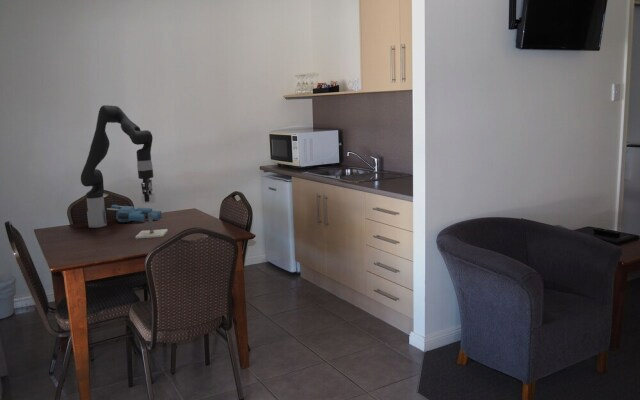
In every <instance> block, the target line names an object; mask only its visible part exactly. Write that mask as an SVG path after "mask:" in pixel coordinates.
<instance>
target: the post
mask: <svg viewBox="0 0 640 400" xmlns="http://www.w3.org/2000/svg"><path fill="white" fill-rule="evenodd" d="M148 219H149V220H148ZM147 220H148V228H149V229H148V230H141V231H140V232H139V233H138V234H137V235H135V239H150V238H162V237H164V236H165V235H166V234H167V233H168V231H169V230H168V228H164V229H154V222H153V221H154V220H152V214H148V218H147Z"/></svg>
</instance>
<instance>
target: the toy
mask: <svg viewBox="0 0 640 400" xmlns="http://www.w3.org/2000/svg"><path fill="white" fill-rule="evenodd" d="M106 210H108V211H114V213H115V217H116V220H117V221H118V223H125V222H127V223H129V222H133V221H134V222H145V221H146V219H147V220H148V221H149V219H148V214H152V220H153V221H158V220H159V219H160V218H161V217H162V211H161V210H153V208H149V207H148V208H145V207H137V208H135V207H134V206H132V205H131V206H130V205H118V204H111V206H110V208H109V207H106Z"/></svg>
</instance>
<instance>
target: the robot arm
mask: <svg viewBox="0 0 640 400" xmlns="http://www.w3.org/2000/svg"><path fill="white" fill-rule="evenodd" d="M108 123H109V124H110V123H111V124H112V123H114V124H115V123H118V124H119V125H120V128H121V130H122V132H123V133H124V134H126V135H127V136H128V137H129V139H130V141H131V143H132V144H134V145H138V146H139V145H140V146H142V147H141V148H139V149H137V150H136V152H135V153H136V161H137V163H136V166H137V167H136V168H137V176H138V179H139V180H142V182H141V184H140V185H141V192H142V194H144V199H145V202H149V194H150V193H152V192H153V181H152V179H153V178H154V169H153V161H152V154H151V152H152V145H153V139H154V138H153V133H152V132H151V131H150V130H141V128H140V127H139V125H137V124H136V123H134V122H133V121H132V120H131V119H130V118H129V117H128V116H127V115H126V114H125V112H124V111H123V109H121V108H120V107H119V106H117V105H108V104H107V105H101V106H100V108H99V110H98V114H97V121H96V126H95V131H94V134H93V138H92V141H91V144H90V149H89V152H88V154H87V155H88V156H87V159H86V161H85V164H84V166H83V169H82V171H81V175H80V183H81V184H82V186H83V187H86V188H87V187H91V189H90V190H89V191H88V192H86V194H85V197H86V206H87V211H86V215H87V223H88V228H92V229H93V228H94V229H97V228H103V227H106V226H107V225H108V224H107V217H106V216H107V215H106V206H105V199H104V190H105V189H104V187H105V186H104V177H103V176H104V175H103V173H102V171H101V170H100V169H99V168H98V169H97V167H98V165H99V164H100V163H102V161H103V160H104V159H105V158H106V156H107V154H108V152H109V149H110V148H109V147H110V139H109V136H108V135H107V132H106V128H107V124H108ZM142 194H141V195H142Z"/></svg>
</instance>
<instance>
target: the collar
mask: <svg viewBox="0 0 640 400" xmlns="http://www.w3.org/2000/svg"><path fill="white" fill-rule="evenodd" d="M140 199H141V200H140V201H141V205H147V204H148V205H149V204H151V205H152V204H155V203H156V202H157V200H156V193H155V192H153V193H152V192H151V193H150V194H149V202H145V199H144V194H141V195H140Z"/></svg>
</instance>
